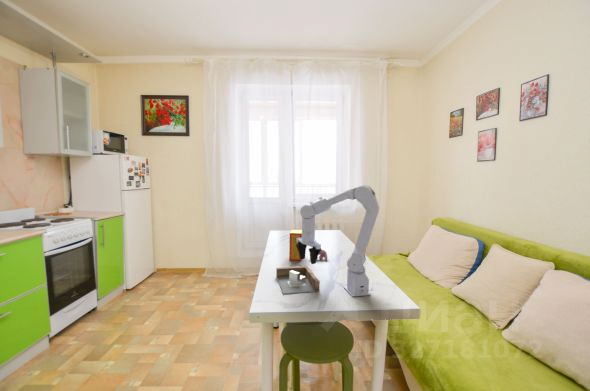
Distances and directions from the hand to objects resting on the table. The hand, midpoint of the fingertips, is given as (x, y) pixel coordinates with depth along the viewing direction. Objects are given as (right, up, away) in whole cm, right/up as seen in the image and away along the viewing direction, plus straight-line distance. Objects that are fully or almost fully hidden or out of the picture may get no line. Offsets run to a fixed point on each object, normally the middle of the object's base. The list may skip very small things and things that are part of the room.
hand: (307, 261), depth 116 cm
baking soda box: (-5, -7, +33) cm, 34 cm away
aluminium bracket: (-5, -9, -1) cm, 10 cm away
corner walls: (-5, -9, -2) cm, 11 cm away
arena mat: (-5, -9, -2) cm, 11 cm away
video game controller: (+8, -7, +30) cm, 32 cm away
